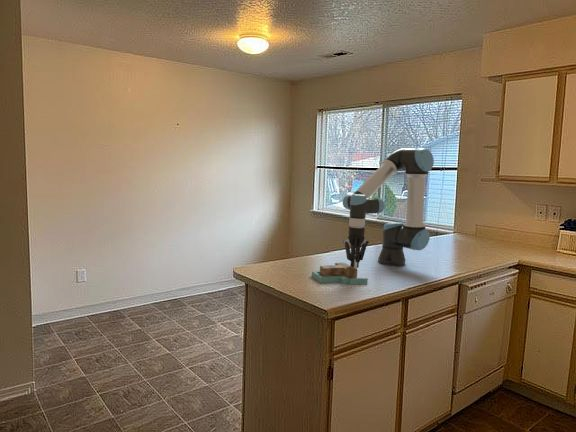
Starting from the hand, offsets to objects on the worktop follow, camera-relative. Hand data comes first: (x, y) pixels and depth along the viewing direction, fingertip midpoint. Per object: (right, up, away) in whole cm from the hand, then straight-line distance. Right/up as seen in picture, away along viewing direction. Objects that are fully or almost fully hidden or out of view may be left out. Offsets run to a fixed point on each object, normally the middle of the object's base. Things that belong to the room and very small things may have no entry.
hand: (353, 274), depth 209 cm
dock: (-9, -2, -3) cm, 9 cm away
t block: (-9, -2, -3) cm, 10 cm away
